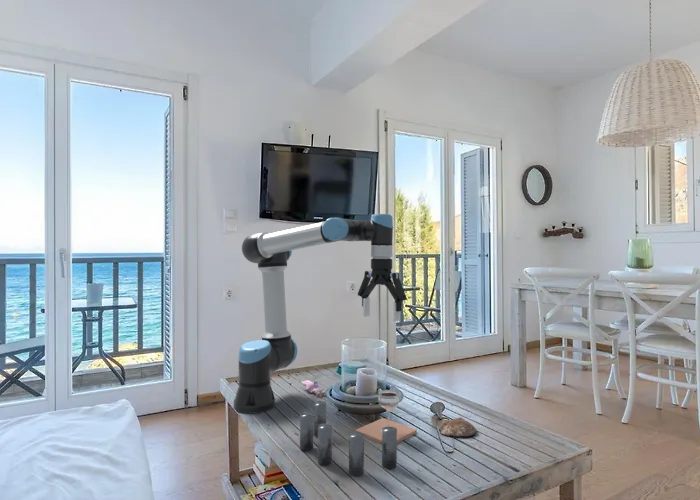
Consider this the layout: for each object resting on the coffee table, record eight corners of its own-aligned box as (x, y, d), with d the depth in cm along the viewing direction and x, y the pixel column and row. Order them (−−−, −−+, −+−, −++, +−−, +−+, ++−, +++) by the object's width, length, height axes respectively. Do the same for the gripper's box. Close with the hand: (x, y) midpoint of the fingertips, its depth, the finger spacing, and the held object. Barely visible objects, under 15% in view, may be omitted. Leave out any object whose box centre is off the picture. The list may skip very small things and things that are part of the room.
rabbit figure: (329, 399, 177) (308, 384, 188) (331, 385, 176) (310, 370, 187) (316, 402, 173) (296, 386, 184) (318, 388, 172) (297, 373, 184)
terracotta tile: (355, 433, 142) (355, 429, 142) (382, 420, 152) (382, 417, 152) (389, 447, 132) (389, 443, 132) (416, 432, 142) (416, 429, 142)
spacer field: (283, 446, 132) (283, 412, 132) (320, 431, 143) (320, 400, 143) (363, 487, 110) (363, 447, 110) (399, 465, 121) (399, 429, 121)
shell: (477, 426, 149) (477, 416, 149) (475, 442, 137) (475, 431, 137) (442, 422, 153) (443, 411, 153) (438, 437, 141) (438, 425, 141)
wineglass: (386, 436, 137) (387, 398, 137) (373, 429, 142) (374, 392, 142) (403, 432, 141) (403, 394, 140) (390, 424, 146) (390, 388, 146)
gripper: (417, 258, 149) (416, 321, 149) (362, 257, 166) (361, 313, 166) (404, 259, 144) (403, 324, 144) (348, 257, 161) (347, 315, 161)
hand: (380, 318), depth 155 cm, fingers open, 13 cm apart
